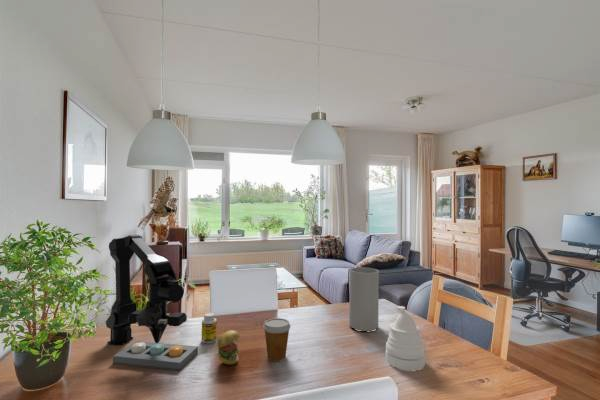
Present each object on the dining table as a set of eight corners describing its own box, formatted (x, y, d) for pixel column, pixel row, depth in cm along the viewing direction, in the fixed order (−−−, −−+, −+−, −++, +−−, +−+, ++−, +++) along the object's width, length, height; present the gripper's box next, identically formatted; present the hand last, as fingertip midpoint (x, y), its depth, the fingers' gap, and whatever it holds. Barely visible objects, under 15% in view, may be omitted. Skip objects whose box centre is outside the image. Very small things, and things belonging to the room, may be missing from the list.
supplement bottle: (203, 345, 121) (204, 317, 121) (199, 339, 126) (200, 313, 126) (218, 341, 124) (218, 315, 124) (213, 336, 129) (214, 311, 129)
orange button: (166, 360, 107) (166, 350, 107) (173, 354, 111) (173, 345, 111) (178, 361, 106) (178, 351, 106) (185, 355, 111) (185, 346, 111)
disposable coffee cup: (293, 353, 115) (294, 319, 115) (284, 365, 106) (284, 329, 106) (269, 349, 118) (270, 316, 118) (258, 360, 109) (258, 325, 109)
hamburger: (234, 369, 103) (234, 331, 104) (213, 367, 104) (213, 330, 105) (242, 358, 111) (242, 323, 111) (222, 356, 112) (223, 321, 112)
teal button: (147, 358, 108) (147, 348, 108) (154, 352, 112) (155, 343, 112) (158, 359, 107) (159, 350, 107) (166, 353, 112) (166, 344, 112)
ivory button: (128, 356, 109) (128, 347, 109) (137, 350, 114) (137, 341, 114) (140, 357, 109) (140, 348, 109) (148, 351, 113) (148, 342, 113)
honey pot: (377, 356, 113) (378, 305, 114) (406, 350, 118) (406, 301, 119) (403, 374, 101) (403, 317, 102) (433, 366, 106) (433, 312, 107)
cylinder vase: (356, 320, 149) (357, 266, 150) (382, 326, 142) (383, 269, 142) (344, 328, 139) (344, 270, 140) (371, 335, 132) (371, 274, 132)
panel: (112, 363, 106) (112, 356, 106) (136, 348, 118) (137, 340, 118) (179, 370, 102) (179, 362, 102) (197, 353, 114) (198, 346, 114)
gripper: (116, 302, 104) (115, 350, 103) (169, 305, 101) (168, 356, 100) (139, 293, 115) (138, 337, 114) (187, 296, 112) (187, 341, 111)
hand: (157, 342), depth 110 cm, fingers closed
